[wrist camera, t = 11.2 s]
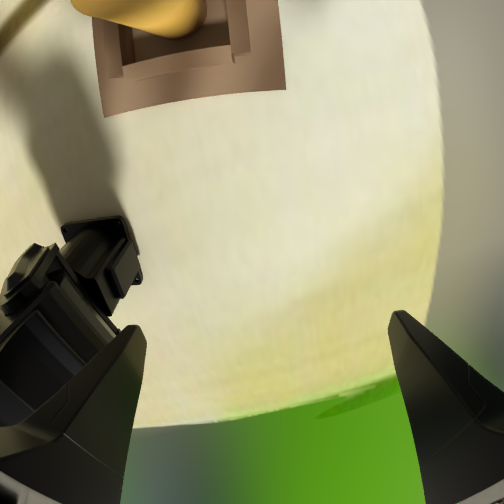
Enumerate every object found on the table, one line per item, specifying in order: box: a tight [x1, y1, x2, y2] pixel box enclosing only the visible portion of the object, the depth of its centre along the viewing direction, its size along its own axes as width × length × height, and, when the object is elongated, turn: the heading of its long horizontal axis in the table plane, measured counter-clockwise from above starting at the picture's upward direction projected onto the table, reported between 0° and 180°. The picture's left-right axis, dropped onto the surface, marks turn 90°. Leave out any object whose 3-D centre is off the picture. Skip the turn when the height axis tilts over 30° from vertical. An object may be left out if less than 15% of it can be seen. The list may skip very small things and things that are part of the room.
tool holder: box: [92, 0, 286, 118], centre depth 13 cm, size 12×12×3 cm
